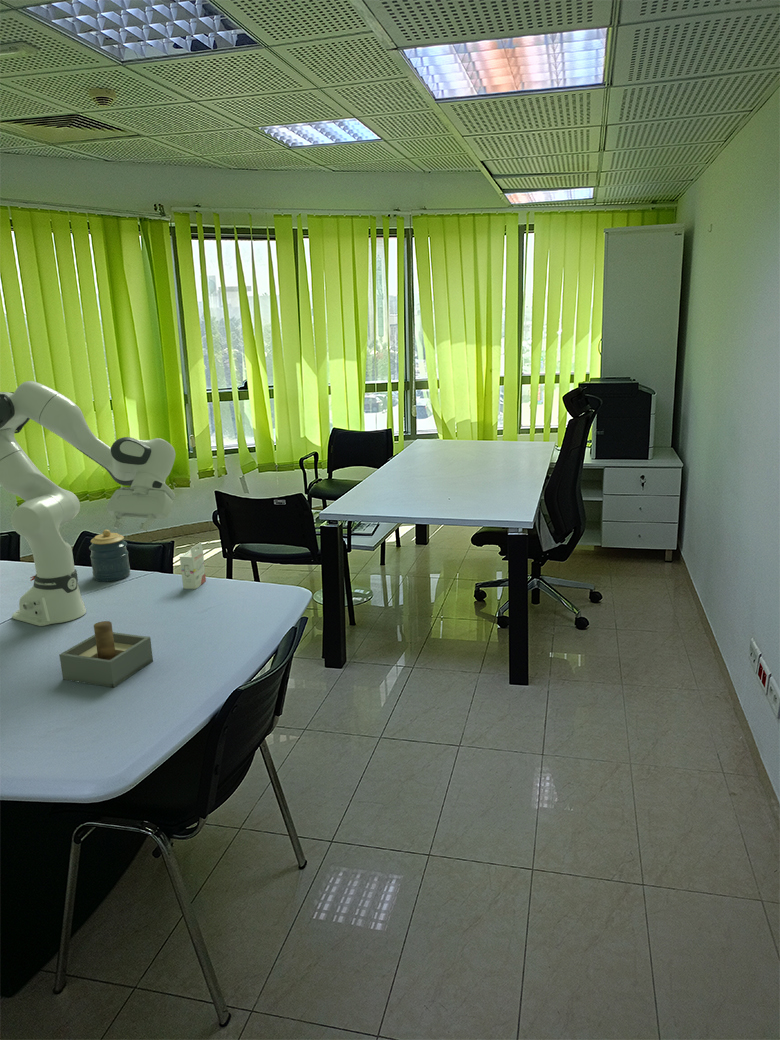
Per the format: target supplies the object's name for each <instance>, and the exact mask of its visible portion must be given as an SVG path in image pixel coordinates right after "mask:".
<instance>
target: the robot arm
mask: <svg viewBox="0 0 780 1040" xmlns="http://www.w3.org/2000/svg"><path fill="white" fill-rule="evenodd" d="M30 420H32V421H34V422H36V424H39V425H40V426H42V427H43V428H45V429H47V430H48V431H50V432H51V433H53V434H55V435H57V436H59V437H60V438H61V439H63V440H64V441H66V442H67V443H68V444H70V445H71V446H73V447H74V448H75V449H76V450H78V451H79V452H81V453H82V454H83V455H84V456H86V457H88V458H89V459H91V460H92V461H94V462H95V463H96V464H98V465H99V466H100V467H102V468H103V469H105V470H106V472H108V474H109V475H110V476H111V478H112V479H113V480H114V482H116V483H117V484H119V485H120V486H121V487H120V488H118V489H116V490H115V491H114V492H113V493H112V495H111V497H110V498H109V500H108V502H107V503H106V506H105V510H106V512H107V513H108V514H109V515H111V516H113V523H112V527H113V528H114V529H115V530H116V529H117V530H120V529H121V526H122V525H123V524H122V523H121V522H120V520H122V518H123V517H127V518H139V519H140V518H141V519H146V520H144V522H141V524H140V526H139V530H140V531H143V532H146V531H148V529H149V527H150V526H151V525H152V524H153V523H154V522H155V521H156V520H166V519H168V517H170V514H171V512H172V509H173V505H174V500H175V498H176V494H175V492H174V491H173V490H172V488H170V487H169V485H167V484H166V480H167V478H168V476H170V475H171V471H172V469H173V467H174V463H175V460H176V451H175V448H174V446H173V445H172V444H171V443H170V442H168V441H167V440H165V439H163V438H160V437H159V438H158V437H156V438H152V439H137V438H134V437H129V436H127V437H126V436H124V437H120V438H118V439H116V440H115V441H114V442H113V443H112V445H111V446H110V445H108V444H106V443H105V442H104V441H102V440H101V439H99V438H98V437H97V436H96V435H95V434H94V433H93V431H92V429H91V428H90V427H89V425H88V423H87V420H86V418H85V416H84V414H83V412H82V409H81V408H80V407H79V406H78V405H77V404H76V402H74V401H73V400H72V399H70V398H69V397H67V396H66V395H64V394H62V393H61V392H59V391H58V390H55V389H53V388H51V387H49V386H47V385H45V384H42V383H40V382H38V381H35V380H27V381H23V382H22V383H21V384H19V386H17V388H15V391H14V392H13V391H10V392H9V391H8V392H7V391H0V485H1V486H2V488H3V489H4V490H5V491H6V492H7V493H9V494H11V495H15V496H17V497H19V498H21V499H22V500H24V502H22V503H21V504H20V505H18V507H16V508H15V509H13V511H12V513H11V516H10V523H11V526H12V528H13V530H14V531H15V532H16V533H17V534H18V535H20V536H21V537H23V538H24V539H25V540H26V542H27V543H28V546H29V547H30V550H31V552H32V558H33V562H34V569H35V575H32V576H30V577H29V579H30V582H32V581H33V585H32V587H31V588H30V589H28V590H27V591H26V592H25V593H24V594H23V595H22V596H21V597H20V598H19V601H18V603H19V604H18V607H19V609H18V610H16V611H15V612H14V613H12V615H11V616H12V617H11V618H12V620H13V619H14V620H16V621H20V622H24V623H27V624H30V625H34V626H38V627H45V626H48V625H53V624H61V623H66V622H71V621H74V620H76V619H78V618H81V617H83V616H84V615H86V613H87V609H86V606H85V602H84V601H83V598H82V594H81V591H80V586H79V584H78V581H79V579H78V578H79V577H78V572H77V571H78V570H77V569H75V562H74V555H73V548H72V546H71V544H70V543H69V542H67V541H64V539H63V537H62V535H61V532H60V527H63V526H64V525H67V524H69V523H70V522H71V521H72V520H74V519H75V518H76V517H77V515H78V514H79V512H80V510H81V503H80V499H79V498H78V496H77V495H76V494H74V492H73V491H70V490H67V489H64V488H62V487H60V486H59V485H58V484H56V483H55V482H53V481H52V480H51V479H50V478H48V477H47V476H46V475H45V474H44V473H42V471H41V470H40V469H39V468H38V467H37V466H36V465H35V464H34V462H33V461H32V460H31V458H30V456H28V455H27V453H26V452H25V451H24V450H23V448H22V447H21V445H20V444H19V443H18V441H17V439H16V437H15V434H19V433H20V432H21V431H22V430H23V428H24V426H25V425H26V424H27V423H28V422H29V421H30Z"/></svg>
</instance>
